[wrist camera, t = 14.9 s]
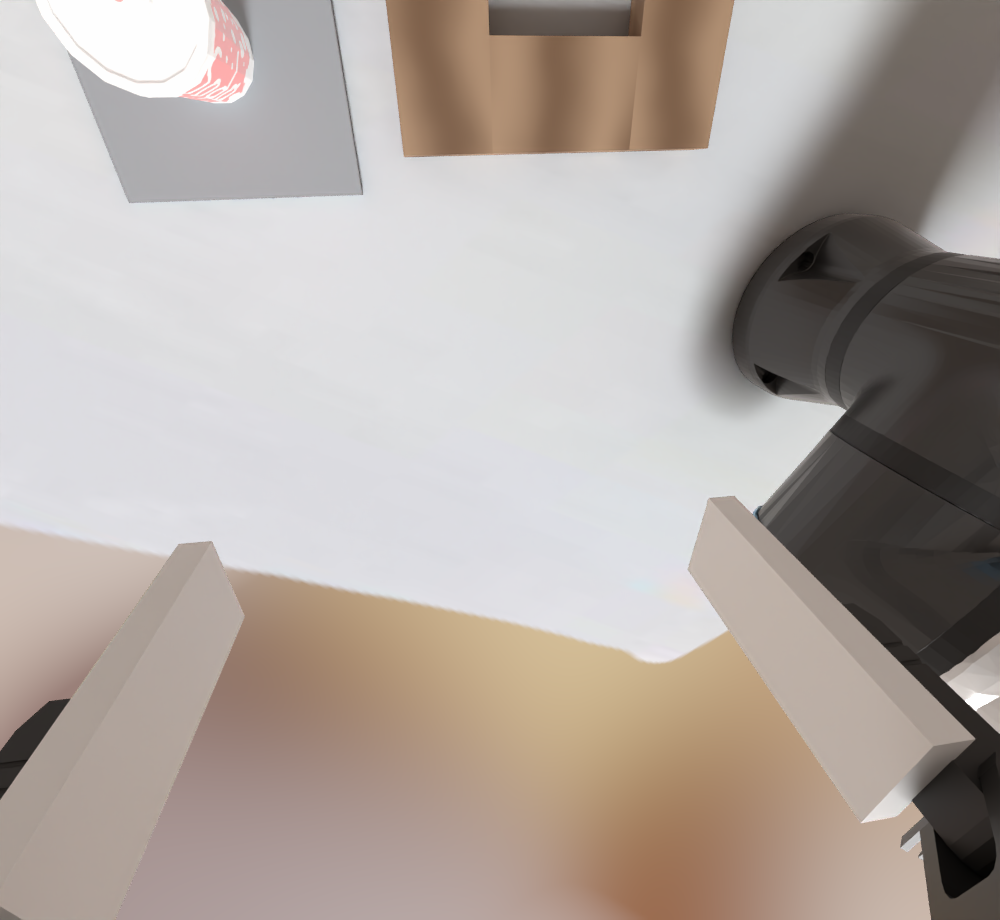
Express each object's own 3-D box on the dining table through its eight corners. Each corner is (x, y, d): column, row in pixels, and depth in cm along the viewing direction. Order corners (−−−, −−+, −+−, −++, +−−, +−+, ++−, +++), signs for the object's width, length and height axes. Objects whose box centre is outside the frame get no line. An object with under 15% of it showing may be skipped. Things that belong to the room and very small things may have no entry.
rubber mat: (310, -131, 22) (307, -138, 22) (362, 194, 30) (362, 194, 29) (-6, -147, 21) (-16, -156, 20) (133, 202, 28) (128, 202, 28)
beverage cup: (188, 132, 26) (9, 95, 15) (116, -11, 23) (-190, -207, 11) (288, 105, 27) (190, 46, 15) (231, -43, 23) (46, -270, 11)
